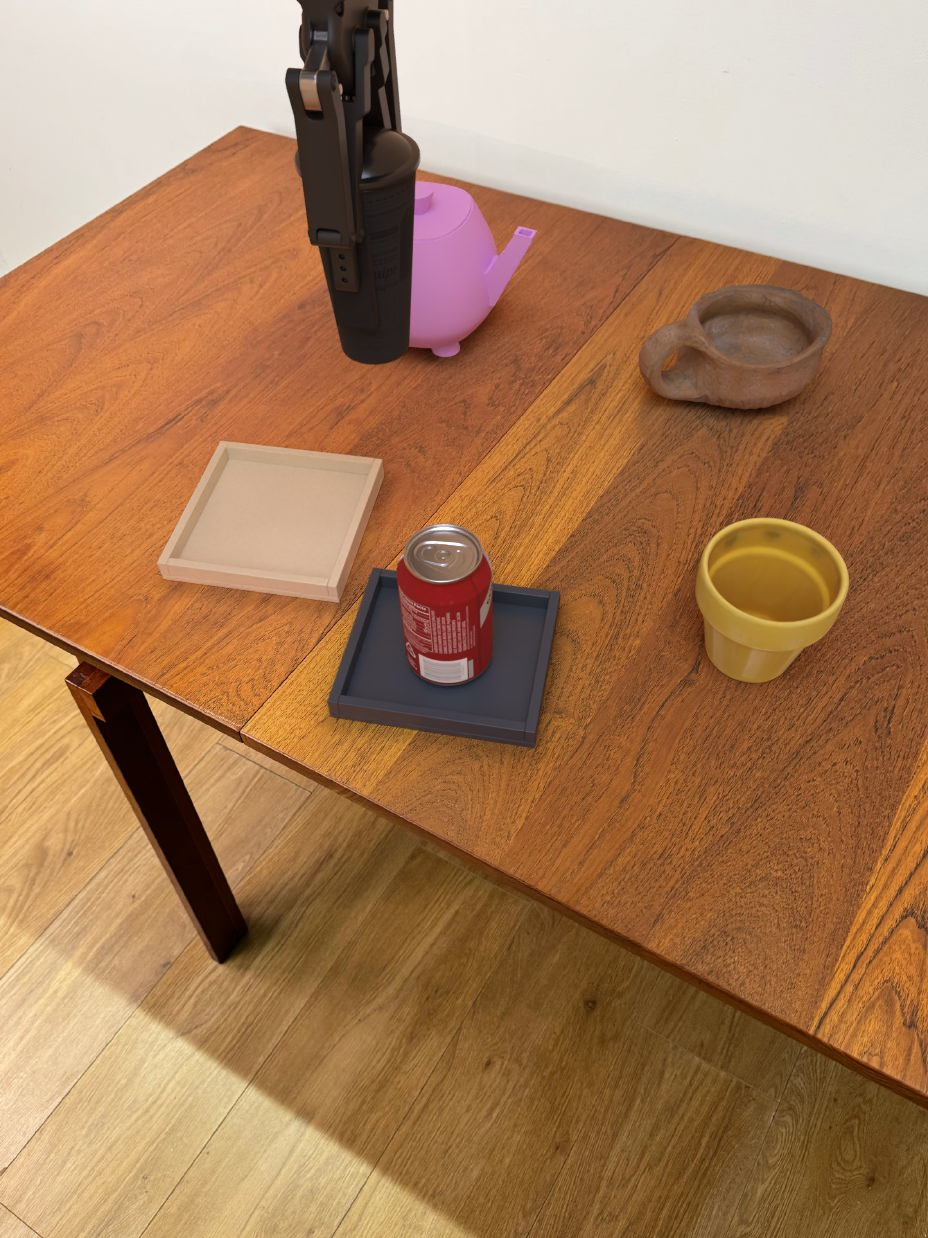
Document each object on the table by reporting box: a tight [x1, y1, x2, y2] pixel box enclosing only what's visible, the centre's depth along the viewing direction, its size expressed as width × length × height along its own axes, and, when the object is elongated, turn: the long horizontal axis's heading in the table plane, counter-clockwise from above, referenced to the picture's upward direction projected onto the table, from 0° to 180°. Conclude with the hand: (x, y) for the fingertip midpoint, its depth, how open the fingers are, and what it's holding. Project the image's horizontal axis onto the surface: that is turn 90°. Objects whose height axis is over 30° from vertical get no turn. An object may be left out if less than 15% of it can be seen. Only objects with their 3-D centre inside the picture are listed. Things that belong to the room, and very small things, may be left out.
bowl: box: [638, 283, 833, 410], centre depth 95 cm, size 18×14×10 cm
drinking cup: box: [293, 96, 422, 366], centre depth 63 cm, size 8×8×20 cm
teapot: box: [408, 180, 538, 358], centre depth 100 cm, size 20×20×15 cm
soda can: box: [396, 523, 493, 686], centre depth 73 cm, size 7×7×12 cm
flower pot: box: [694, 517, 850, 684], centre depth 75 cm, size 10×10×10 cm
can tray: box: [327, 567, 561, 749], centre depth 78 cm, size 16×14×2 cm
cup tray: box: [156, 440, 385, 604], centre depth 88 cm, size 16×16×2 cm
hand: (370, 296), depth 68 cm, fingers closed on drinking cup, 6 cm apart
